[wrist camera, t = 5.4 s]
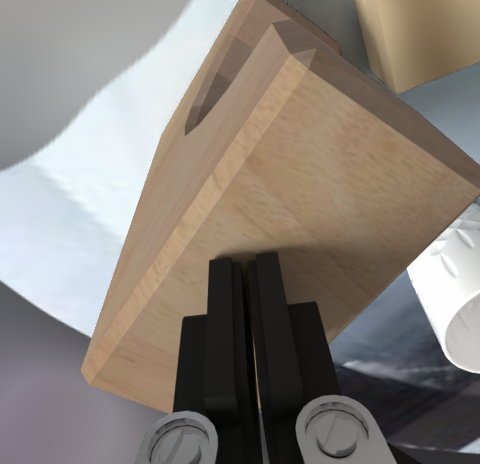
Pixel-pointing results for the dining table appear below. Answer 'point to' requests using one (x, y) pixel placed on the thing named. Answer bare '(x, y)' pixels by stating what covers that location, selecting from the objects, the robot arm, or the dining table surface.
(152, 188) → the decorative block
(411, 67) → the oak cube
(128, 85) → the dining table surface
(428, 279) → the white cup
